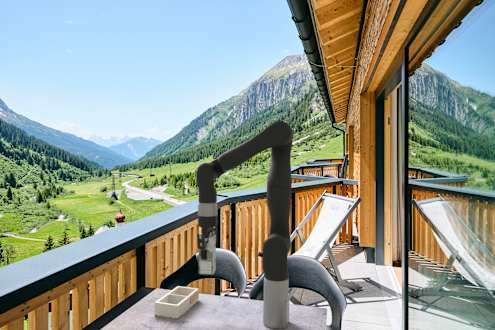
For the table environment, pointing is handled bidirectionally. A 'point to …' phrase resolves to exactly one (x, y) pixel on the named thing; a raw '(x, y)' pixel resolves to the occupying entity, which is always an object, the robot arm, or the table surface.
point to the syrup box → (208, 258)
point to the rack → (176, 302)
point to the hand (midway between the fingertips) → (207, 256)
